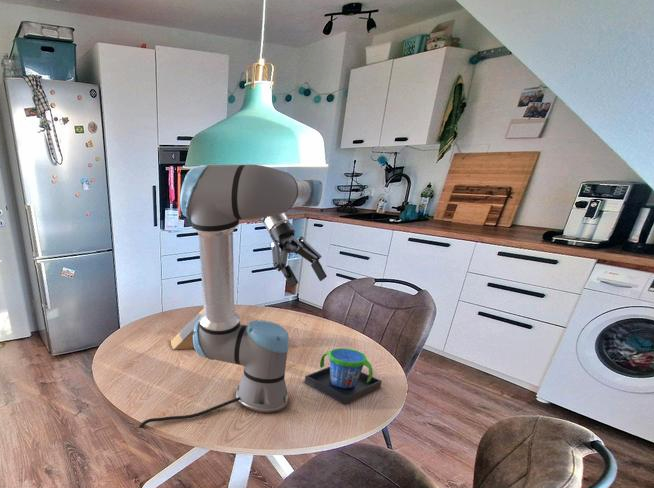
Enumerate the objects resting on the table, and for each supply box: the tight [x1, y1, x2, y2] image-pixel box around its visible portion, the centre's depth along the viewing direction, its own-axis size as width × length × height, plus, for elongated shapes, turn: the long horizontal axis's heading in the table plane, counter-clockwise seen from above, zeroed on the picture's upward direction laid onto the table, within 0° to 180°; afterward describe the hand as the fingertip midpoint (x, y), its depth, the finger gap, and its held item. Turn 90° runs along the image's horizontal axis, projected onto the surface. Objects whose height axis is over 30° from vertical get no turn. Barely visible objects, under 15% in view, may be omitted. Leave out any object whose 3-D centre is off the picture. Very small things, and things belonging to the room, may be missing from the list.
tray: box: [304, 366, 383, 405], centre depth 122 cm, size 17×15×2 cm
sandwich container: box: [170, 307, 204, 350], centre depth 150 cm, size 9×15×15 cm, turn 98°
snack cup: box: [319, 347, 374, 389], centre depth 121 cm, size 16×10×10 cm
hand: (309, 281), depth 124 cm, fingers open, 13 cm apart
